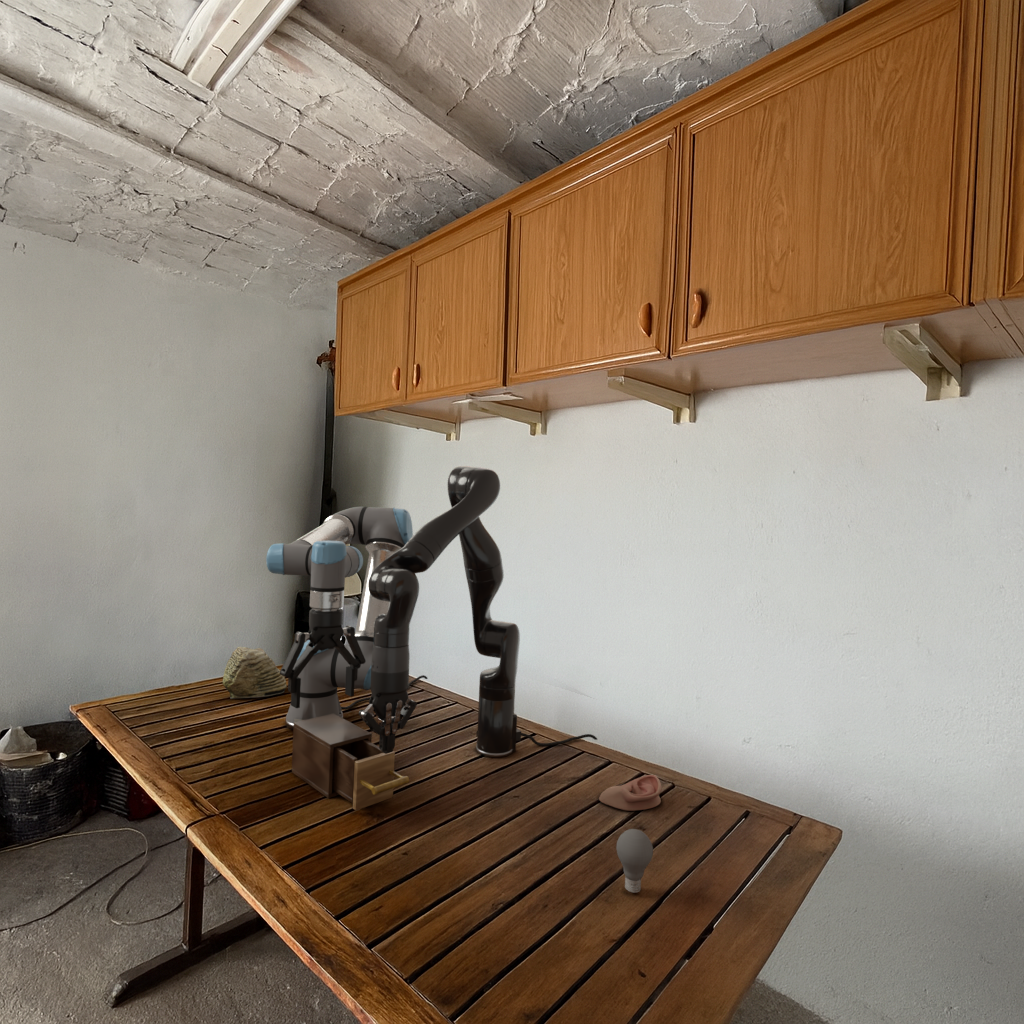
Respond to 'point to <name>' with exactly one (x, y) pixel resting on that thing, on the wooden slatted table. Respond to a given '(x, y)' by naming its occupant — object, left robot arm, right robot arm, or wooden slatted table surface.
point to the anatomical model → (634, 794)
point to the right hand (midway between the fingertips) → (386, 751)
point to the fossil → (252, 674)
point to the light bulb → (634, 857)
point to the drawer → (364, 773)
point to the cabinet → (321, 748)
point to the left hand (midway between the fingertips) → (323, 700)
